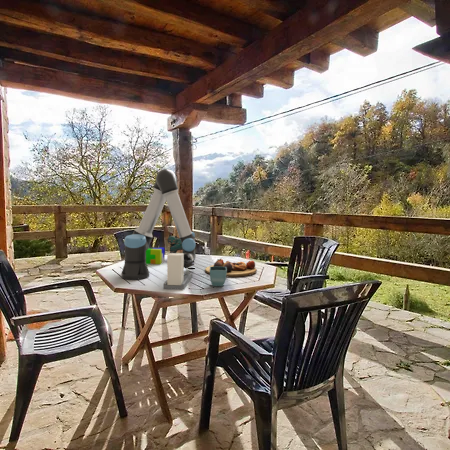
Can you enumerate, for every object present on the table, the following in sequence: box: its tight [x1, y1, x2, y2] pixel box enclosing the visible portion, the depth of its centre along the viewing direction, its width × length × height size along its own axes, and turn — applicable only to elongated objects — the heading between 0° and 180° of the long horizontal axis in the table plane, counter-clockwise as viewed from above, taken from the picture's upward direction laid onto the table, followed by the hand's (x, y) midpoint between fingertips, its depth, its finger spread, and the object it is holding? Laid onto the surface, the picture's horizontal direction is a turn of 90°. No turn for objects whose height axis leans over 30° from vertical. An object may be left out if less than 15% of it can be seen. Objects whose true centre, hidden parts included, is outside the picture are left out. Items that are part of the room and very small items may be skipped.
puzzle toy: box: [146, 246, 166, 265], centre depth 219 cm, size 10×10×10 cm
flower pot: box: [209, 267, 227, 287], centre depth 164 cm, size 9×9×9 cm
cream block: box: [166, 252, 185, 285], centre depth 160 cm, size 7×6×15 cm
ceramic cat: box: [167, 232, 183, 254], centre depth 234 cm, size 20×6×20 cm, turn 83°
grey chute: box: [163, 272, 193, 290], centre depth 168 cm, size 10×24×3 cm, turn 176°
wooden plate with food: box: [204, 258, 257, 278], centre depth 197 cm, size 32×32×8 cm
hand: (177, 268), depth 163 cm, fingers closed
